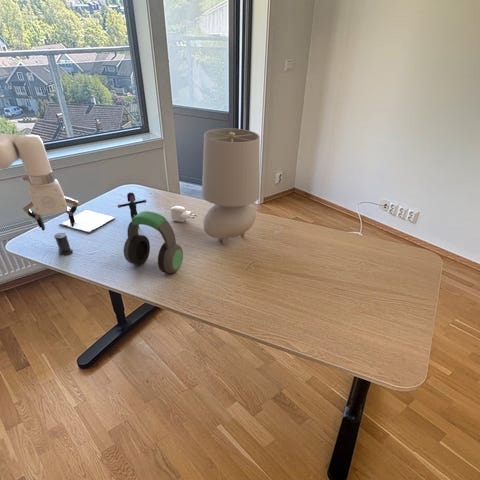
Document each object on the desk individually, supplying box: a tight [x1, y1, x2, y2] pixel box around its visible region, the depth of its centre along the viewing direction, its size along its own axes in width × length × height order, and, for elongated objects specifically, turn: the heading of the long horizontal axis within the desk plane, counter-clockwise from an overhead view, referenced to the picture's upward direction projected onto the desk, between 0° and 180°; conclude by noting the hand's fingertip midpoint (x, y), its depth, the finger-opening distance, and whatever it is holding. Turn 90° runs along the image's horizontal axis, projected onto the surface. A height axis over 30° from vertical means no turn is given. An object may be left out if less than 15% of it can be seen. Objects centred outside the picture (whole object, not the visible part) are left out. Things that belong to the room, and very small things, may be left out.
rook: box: [53, 232, 74, 257], centre depth 128 cm, size 5×5×7 cm
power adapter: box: [170, 205, 198, 223], centre depth 152 cm, size 11×5×6 cm, turn 70°
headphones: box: [123, 210, 184, 274], centre depth 119 cm, size 19×11×20 cm, turn 70°
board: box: [59, 209, 116, 235], centre depth 149 cm, size 16×16×1 cm
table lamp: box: [201, 127, 261, 246], centre depth 129 cm, size 23×22×40 cm
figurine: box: [117, 191, 147, 230], centre depth 143 cm, size 12×4×15 cm, turn 123°
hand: (58, 226), depth 124 cm, fingers open, 9 cm apart
